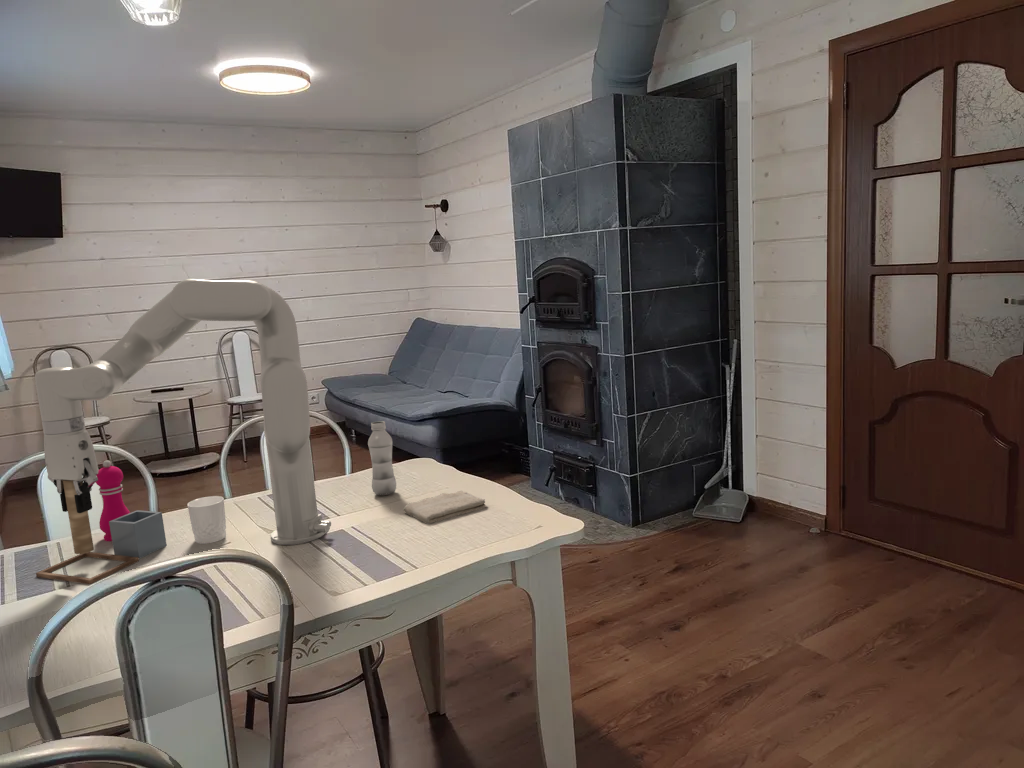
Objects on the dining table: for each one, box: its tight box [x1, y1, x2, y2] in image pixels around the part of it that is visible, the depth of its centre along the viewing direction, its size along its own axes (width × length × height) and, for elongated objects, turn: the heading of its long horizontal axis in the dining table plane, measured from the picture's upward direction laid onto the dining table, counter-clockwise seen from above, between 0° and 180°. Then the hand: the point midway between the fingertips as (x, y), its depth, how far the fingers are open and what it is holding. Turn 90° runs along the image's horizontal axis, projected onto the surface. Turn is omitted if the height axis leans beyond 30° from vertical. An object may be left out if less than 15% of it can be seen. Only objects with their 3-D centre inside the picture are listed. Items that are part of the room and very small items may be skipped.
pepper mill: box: [95, 459, 131, 542], centre depth 177 cm, size 7×7×20 cm
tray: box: [35, 551, 140, 585], centre depth 159 cm, size 16×12×2 cm
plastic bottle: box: [367, 420, 397, 496], centre depth 200 cm, size 6×7×20 cm
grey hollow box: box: [109, 509, 168, 559], centre depth 168 cm, size 8×8×9 cm
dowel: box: [63, 480, 94, 555], centre depth 157 cm, size 4×4×16 cm
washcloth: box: [403, 490, 487, 524], centre depth 184 cm, size 12×18×3 cm, turn 126°
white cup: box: [186, 495, 227, 545], centre depth 173 cm, size 8×8×10 cm
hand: (77, 509), depth 157 cm, fingers closed on dowel, 3 cm apart
